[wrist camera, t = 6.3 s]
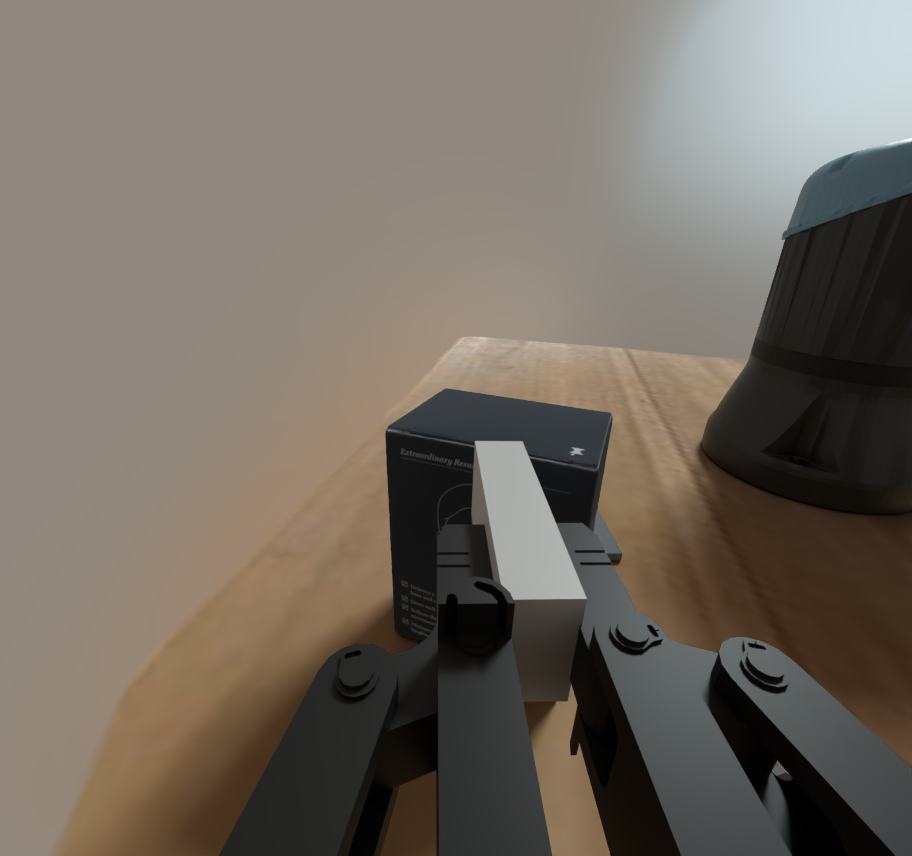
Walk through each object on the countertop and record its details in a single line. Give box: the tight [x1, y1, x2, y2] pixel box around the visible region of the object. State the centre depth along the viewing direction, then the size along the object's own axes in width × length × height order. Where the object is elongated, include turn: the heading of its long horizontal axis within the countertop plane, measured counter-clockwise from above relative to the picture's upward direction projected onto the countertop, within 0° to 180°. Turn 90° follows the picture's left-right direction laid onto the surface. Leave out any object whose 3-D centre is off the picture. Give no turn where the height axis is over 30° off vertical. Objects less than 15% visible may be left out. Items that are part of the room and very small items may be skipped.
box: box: [386, 389, 612, 642], centre depth 20 cm, size 8×6×11 cm
